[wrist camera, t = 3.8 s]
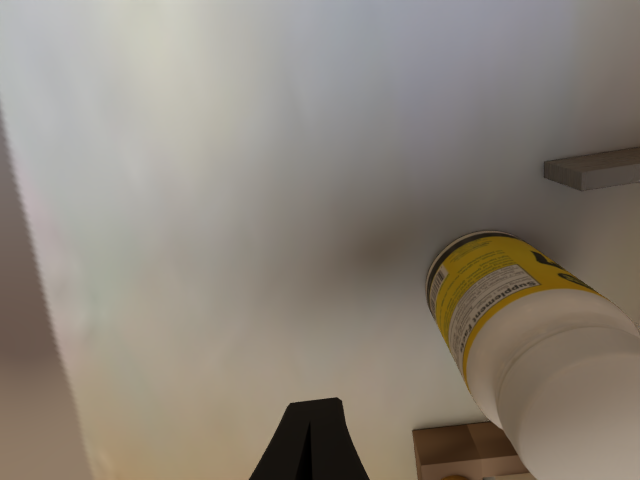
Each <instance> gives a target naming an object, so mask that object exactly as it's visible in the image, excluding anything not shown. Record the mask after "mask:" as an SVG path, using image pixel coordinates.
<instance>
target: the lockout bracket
mask: <svg viewBox="0 0 640 480" xmlns="http://www.w3.org/2000/svg"><path fill="white" fill-rule="evenodd" d="M544 178H547V179H549V180H552V181H555V182H558V183H560V184H563V185H566V186H569V187H572V188H574V189H577V190H580V191H584V190H591V189H598V188H604V187H611V186H618V185H625V184H631V183H638V182H640V147H637V148H631V149H624V150H618V151H611V152H605V153H598V154H592V155H585V156H579V157H572V158H566V159H559V160H553V161H546V162H544Z"/></svg>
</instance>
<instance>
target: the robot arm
mask: <svg viewBox="0 0 640 480" xmlns="http://www.w3.org/2000/svg"><path fill="white" fill-rule="evenodd" d="M249 480H370V479H369V477H368V475H367V473H366V471H365V469H364V467H363V465H362V463H361V461H360V459H359V456H358V454H357V452H356V449H355V447H354V445H353V442H352V440H351V437H350V435H349V432H348V429H347V426H346V422H345V416H344V410H343V405H342V400H340V399H339V398H337V397H336V398H327V399H319V400H311V401H303V402H295V403H290V404H289V405H288V407H287V408H286V411H285V413H284V415H283V417H282V419H281V422H280V424H279V426H278V428H277V430H276V432H275V434H274V436H273V438H272V439H271V441H270V443H269V445H268V447H267V449H266V451H265V452H264V454H263V456H262V458H261V460H260V461H259V463H258V465H257V467H256V468H255V470H254V472H253V473H252V475H251V477H250V478H249Z"/></svg>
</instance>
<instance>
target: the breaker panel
mask: <svg viewBox="0 0 640 480" xmlns="http://www.w3.org/2000/svg"><path fill="white" fill-rule="evenodd" d="M412 432H413V441H414V450H415V458H416V467H417V475H418V480H483V479H482V478H484V477H494V476H503V475H513V474H522V473H530V472H529V470H528V469H527V468H526V467H525V466H524V464H523V463H522V461H521V459H520V457H519V456H518V454H517V452H516V450H515V449H514V447H513V445H512V443H511V442H510V440H509V439H508V437H507V436H506V434H505V432H504V430H502V429H501V428H499V427H498V426H497V425H495V424H494V423H493V422H485V423H476V424H467V425H458V426H450V427H441V428H432V429H423V430H415V431H412Z"/></svg>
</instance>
